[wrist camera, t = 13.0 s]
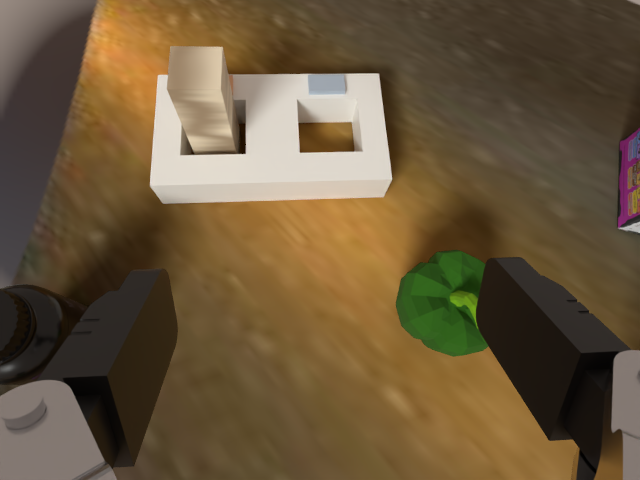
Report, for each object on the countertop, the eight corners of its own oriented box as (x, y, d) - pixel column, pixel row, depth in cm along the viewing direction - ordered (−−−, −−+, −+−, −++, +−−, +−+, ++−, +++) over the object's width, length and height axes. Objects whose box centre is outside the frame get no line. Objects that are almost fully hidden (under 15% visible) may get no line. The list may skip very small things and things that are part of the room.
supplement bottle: (89, 395, 35) (-6, 402, 24) (14, 370, 36) (-115, 365, 24) (126, 317, 38) (54, 290, 26) (55, 294, 38) (-46, 256, 27)
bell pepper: (385, 267, 41) (413, 232, 31) (469, 272, 41) (521, 240, 32) (385, 356, 38) (415, 348, 29) (474, 362, 38) (534, 355, 29)
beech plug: (240, 132, 44) (222, 47, 33) (239, 166, 43) (220, 89, 32) (201, 132, 44) (170, 46, 33) (199, 166, 43) (166, 89, 32)
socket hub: (371, 94, 47) (379, 66, 43) (383, 197, 43) (393, 176, 39) (169, 96, 45) (156, 67, 41) (162, 203, 41) (148, 183, 37)
